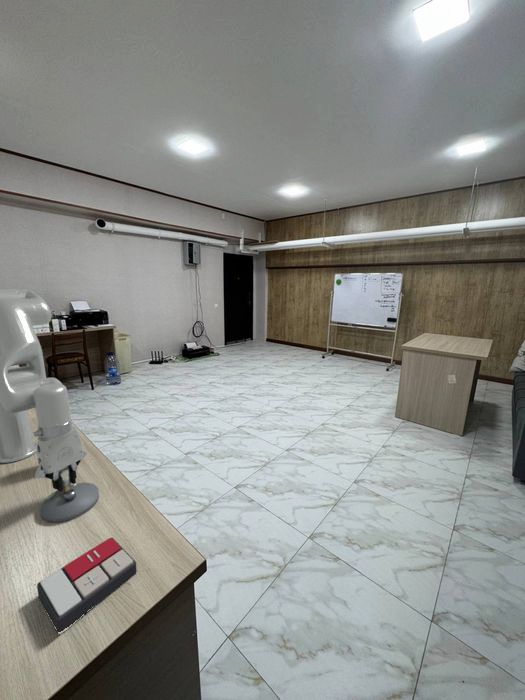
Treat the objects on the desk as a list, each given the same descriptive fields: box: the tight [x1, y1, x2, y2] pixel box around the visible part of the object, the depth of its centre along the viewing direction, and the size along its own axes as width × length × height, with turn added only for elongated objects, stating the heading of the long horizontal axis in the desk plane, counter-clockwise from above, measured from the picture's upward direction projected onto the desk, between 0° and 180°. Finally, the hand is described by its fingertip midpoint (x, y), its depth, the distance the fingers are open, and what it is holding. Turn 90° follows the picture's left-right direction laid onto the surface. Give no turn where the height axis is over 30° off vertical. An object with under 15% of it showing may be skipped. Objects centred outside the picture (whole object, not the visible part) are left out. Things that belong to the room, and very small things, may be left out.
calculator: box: [36, 537, 138, 632], centre depth 61 cm, size 11×4×15 cm
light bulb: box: [58, 466, 76, 501], centre depth 84 cm, size 8×3×7 cm, turn 46°
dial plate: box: [39, 482, 100, 524], centre depth 84 cm, size 14×14×2 cm
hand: (65, 485), depth 86 cm, fingers open, 3 cm apart
